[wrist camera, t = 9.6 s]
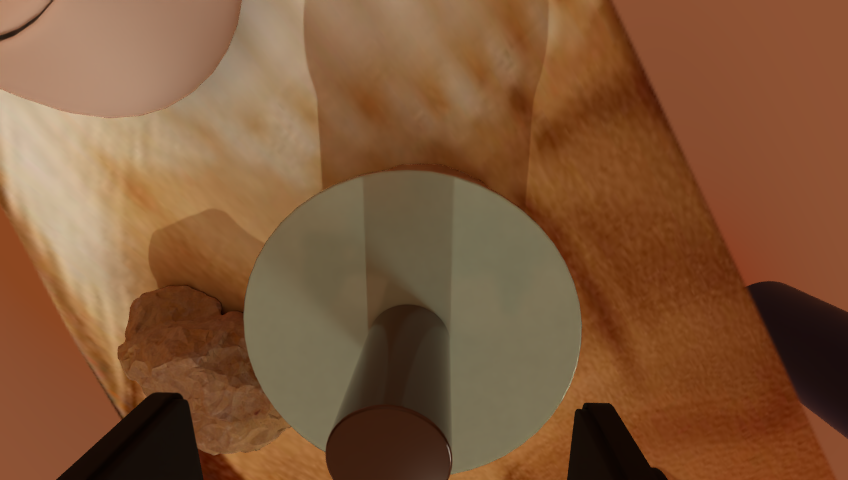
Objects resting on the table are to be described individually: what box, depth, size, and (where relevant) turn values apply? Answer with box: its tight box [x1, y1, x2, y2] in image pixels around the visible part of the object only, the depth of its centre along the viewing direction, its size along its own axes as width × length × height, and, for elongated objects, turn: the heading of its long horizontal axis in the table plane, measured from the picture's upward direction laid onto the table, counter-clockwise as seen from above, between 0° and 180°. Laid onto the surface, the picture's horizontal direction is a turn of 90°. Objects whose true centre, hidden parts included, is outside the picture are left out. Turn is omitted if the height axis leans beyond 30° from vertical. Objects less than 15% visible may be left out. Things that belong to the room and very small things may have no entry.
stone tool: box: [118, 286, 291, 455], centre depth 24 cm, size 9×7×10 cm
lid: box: [243, 169, 582, 480], centre depth 13 cm, size 12×12×7 cm
